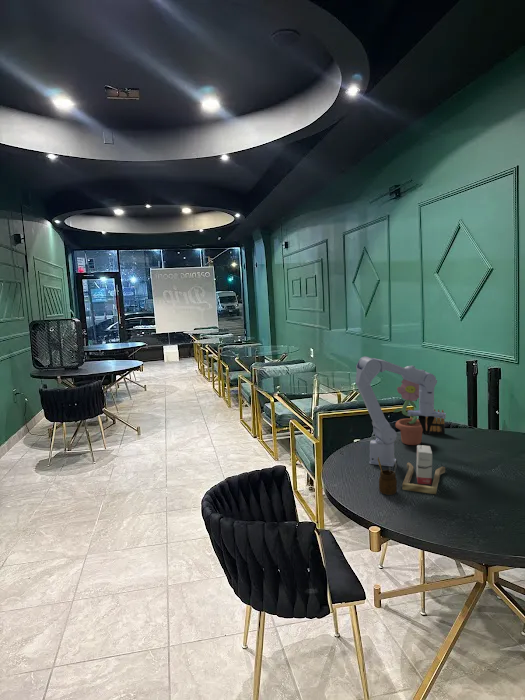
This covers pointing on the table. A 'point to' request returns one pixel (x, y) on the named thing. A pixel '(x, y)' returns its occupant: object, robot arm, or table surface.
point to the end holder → (421, 488)
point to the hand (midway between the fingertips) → (426, 434)
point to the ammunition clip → (437, 426)
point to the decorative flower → (408, 426)
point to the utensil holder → (387, 481)
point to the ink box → (424, 464)
